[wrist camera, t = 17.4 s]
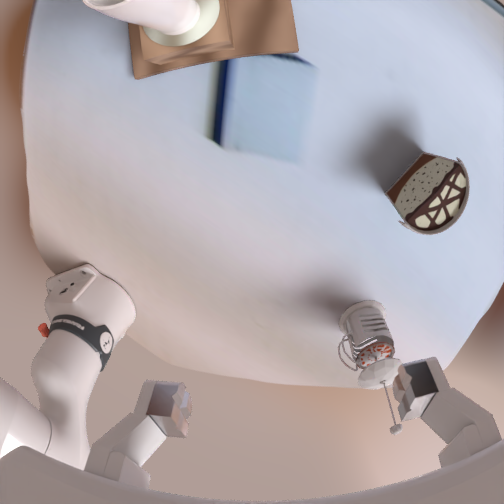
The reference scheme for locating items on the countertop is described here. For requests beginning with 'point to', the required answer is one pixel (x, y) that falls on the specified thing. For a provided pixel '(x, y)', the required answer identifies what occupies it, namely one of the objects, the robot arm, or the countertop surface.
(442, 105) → the countertop surface
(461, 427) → the robot arm
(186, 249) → the countertop surface
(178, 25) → the drinking glass
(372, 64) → the countertop surface
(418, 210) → the food container
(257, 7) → the walnut display stand
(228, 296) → the countertop surface
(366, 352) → the french press
